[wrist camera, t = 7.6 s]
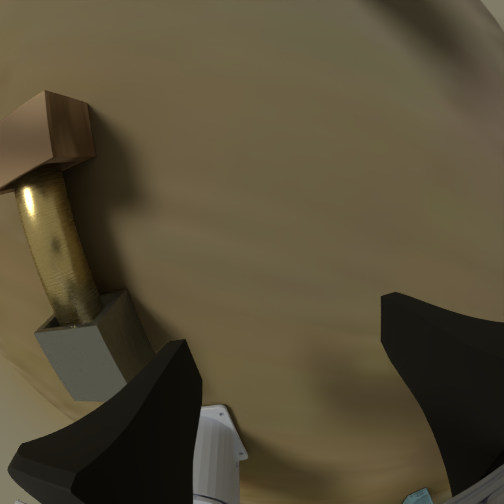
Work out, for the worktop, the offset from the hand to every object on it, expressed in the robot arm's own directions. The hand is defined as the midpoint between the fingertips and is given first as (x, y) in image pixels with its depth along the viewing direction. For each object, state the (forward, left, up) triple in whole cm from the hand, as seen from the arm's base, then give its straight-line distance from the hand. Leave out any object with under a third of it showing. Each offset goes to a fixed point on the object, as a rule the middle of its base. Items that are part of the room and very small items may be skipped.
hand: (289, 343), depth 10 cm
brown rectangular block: (+11, +13, -9) cm, 20 cm away
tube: (+6, +13, -9) cm, 17 cm away
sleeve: (-3, +13, -9) cm, 16 cm away
